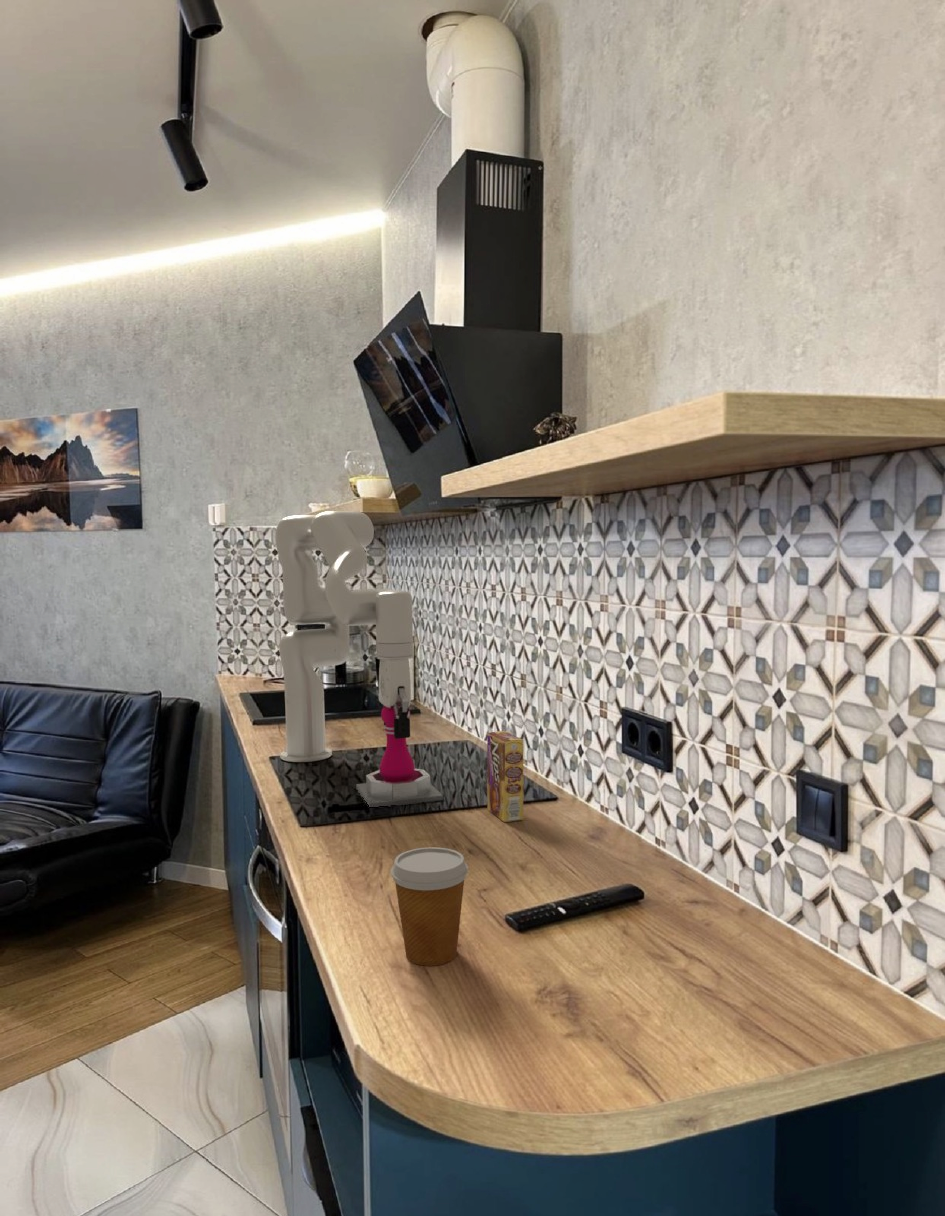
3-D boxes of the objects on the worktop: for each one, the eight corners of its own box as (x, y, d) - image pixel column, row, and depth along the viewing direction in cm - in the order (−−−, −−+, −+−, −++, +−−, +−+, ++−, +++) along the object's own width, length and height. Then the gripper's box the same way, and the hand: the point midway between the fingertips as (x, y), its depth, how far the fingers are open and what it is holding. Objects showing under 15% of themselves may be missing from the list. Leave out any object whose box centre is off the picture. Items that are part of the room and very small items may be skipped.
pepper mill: (417, 785, 177) (415, 691, 176) (411, 794, 170) (409, 697, 169) (384, 784, 178) (381, 691, 177) (376, 794, 171) (374, 697, 169)
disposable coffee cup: (485, 953, 104) (483, 858, 103) (427, 981, 97) (425, 880, 96) (434, 929, 111) (432, 840, 110) (377, 954, 104) (374, 860, 103)
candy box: (525, 820, 156) (524, 739, 155) (504, 823, 154) (502, 741, 153) (507, 807, 164) (506, 730, 163) (486, 809, 162) (485, 732, 161)
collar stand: (356, 788, 179) (355, 770, 179) (424, 781, 183) (423, 763, 183) (369, 808, 165) (369, 788, 164) (443, 800, 169) (442, 780, 169)
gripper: (368, 647, 179) (370, 726, 180) (385, 656, 163) (387, 743, 164) (403, 645, 182) (404, 723, 183) (423, 654, 165) (425, 740, 166)
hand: (396, 733), depth 173 cm, fingers open, 9 cm apart
